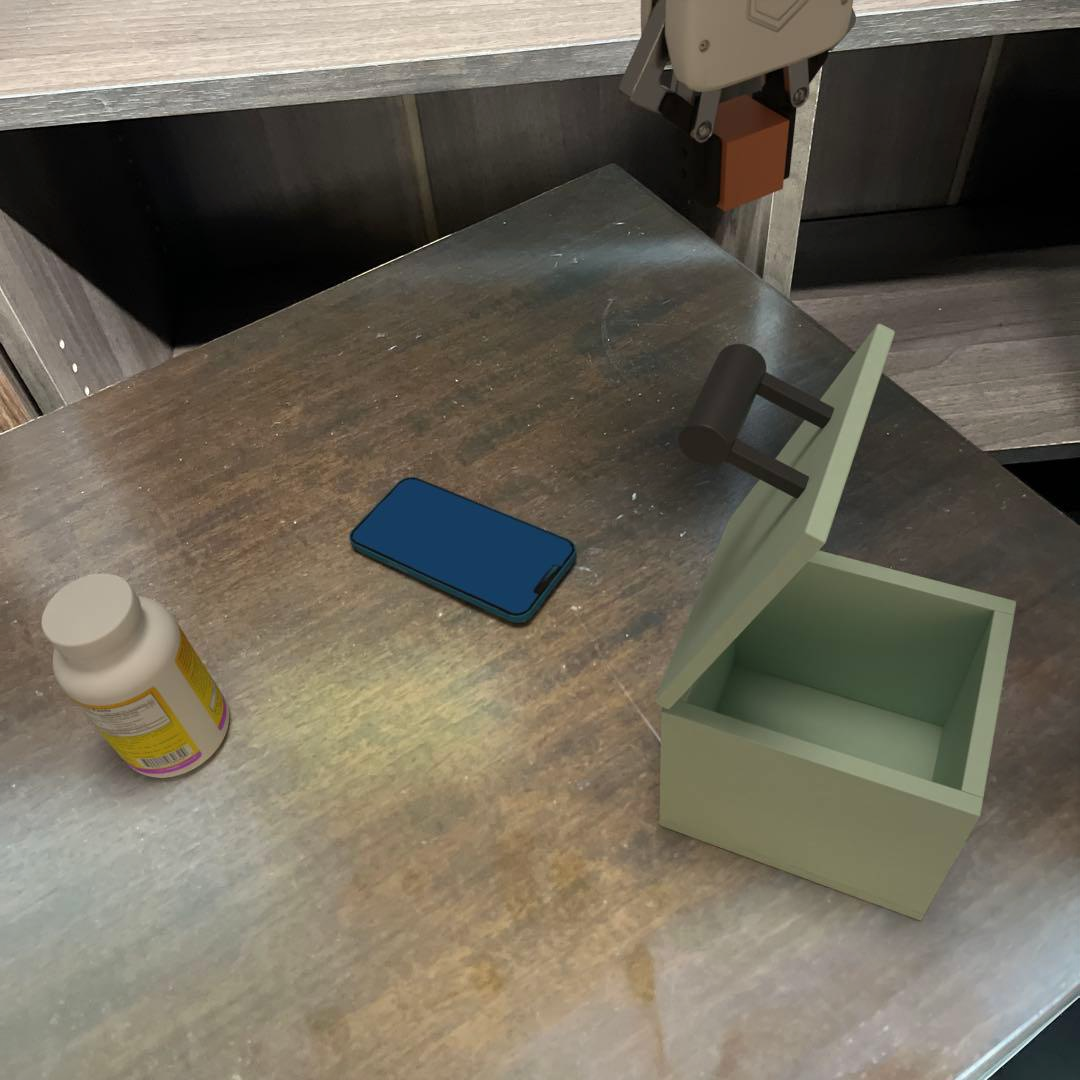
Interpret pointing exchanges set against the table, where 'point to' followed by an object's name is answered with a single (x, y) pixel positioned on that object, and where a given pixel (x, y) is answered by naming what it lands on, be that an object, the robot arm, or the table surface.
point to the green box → (844, 731)
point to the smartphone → (465, 548)
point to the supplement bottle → (134, 675)
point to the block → (750, 151)
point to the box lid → (768, 491)
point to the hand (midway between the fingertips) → (733, 180)
